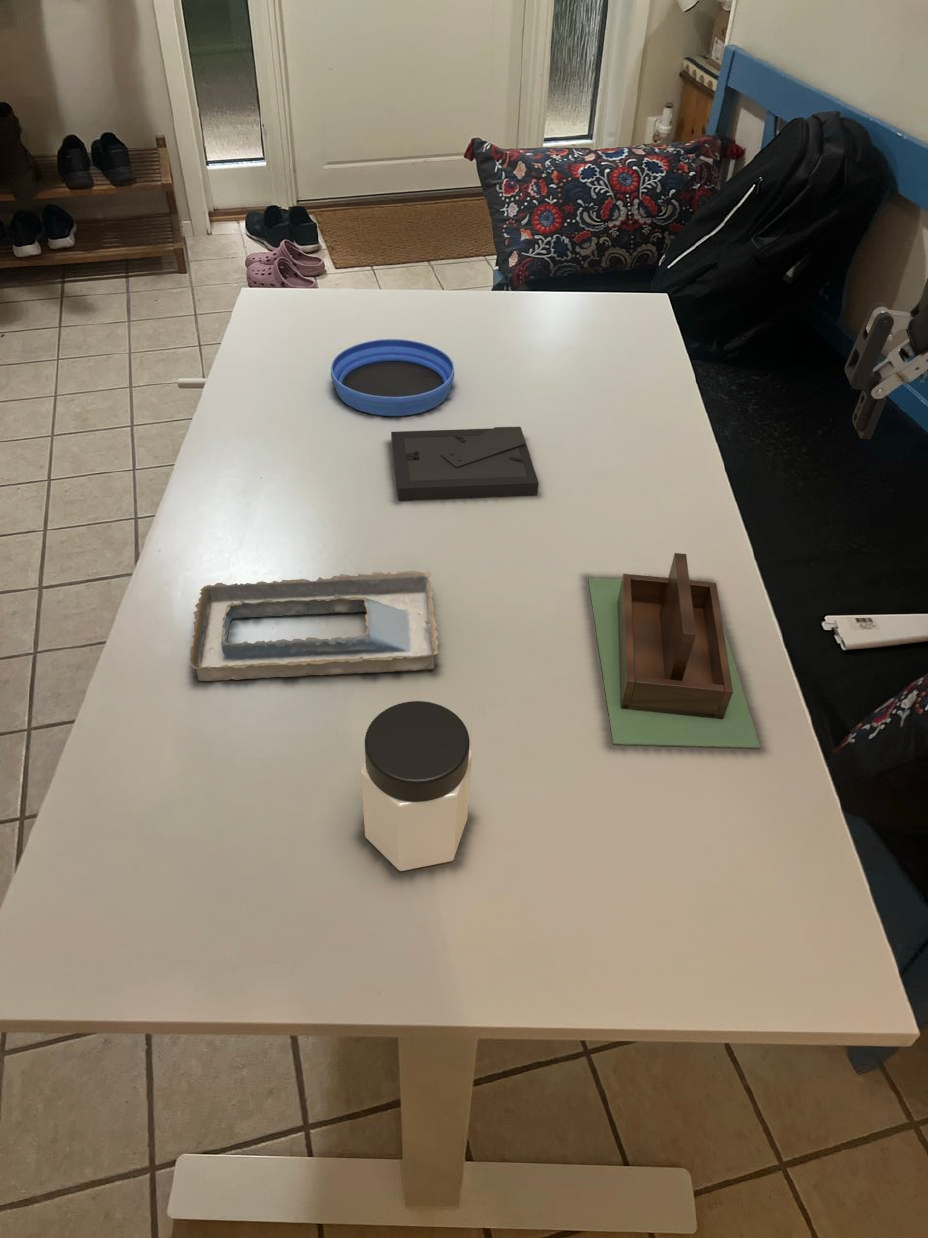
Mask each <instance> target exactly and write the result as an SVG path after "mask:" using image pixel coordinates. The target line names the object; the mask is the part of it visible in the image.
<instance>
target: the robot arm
mask: <svg viewBox="0 0 928 1238" xmlns="http://www.w3.org/2000/svg"><path fill="white" fill-rule="evenodd" d="M904 330H905V332H906V335H907V337H908V338H907V339H904V341H902V342H901V343H900V344H898V345H897V346H895V348H893V349H892V350H891V351H890V352H889V353H888V355H887V357H886V358H885V359H884V360H882V361H881V362H880V363H879V364H877V362H878V360H879V358H880V355H881V353H882V351H883V350H884V347H885V345H886V342H892V341H893V340H894V338H895V337H896V336H897V334H898V333H899V332H901V331H904ZM913 356H914V358H912V357H913ZM910 358H912V359H911V360H910ZM845 363H846V364H845V366H844V368H843V369H844V373H845V376H846V377H847V380H848V383H849V384H850V387H851V388H852V389H853V390H857V391H859V390H860V391H861V392H860V395H859V397H858V401H857V403H856V406H855V409H854V411H853V414H852V417H851V418H852V424H853V427H854V429H855V432H857V435H858V437H859V438H860V439H861V440H862V439H863V440H871V439H872V436H873V435H874V432H875V430H876V428H877V425H878V423H879V420H880V418H881V415H882V412H883V410H884V408H885V405H886V403H887V399H886V396H888V395H889V394H891V393H892V392H893V391H895V390H896V389H898V388H899V387H900V386H901V385H903V384H909V383H911V382H913V381H914V380H916V379H917V378H918V377H920V376H921V375H923V374H924V373H925V372H928V278H927V279H926V281H925V284H924V287H923V290H922V293H921V297H920V299H919V301H918V303H917V304H916V305H915V306H914V307H913V308H912V309H911V310H909V312H908V311H902V310H894V309H889V308H888V307H887V305H886V304H885V303H883V302H875V303H873V304H872V305H871V306H870V308H869V310H868V312H867V314H866V316H865V319H864V321H863V324H862V326H861V328H860V331H859V333H858V335H857V338H856V339H855V343H854V345H853V347H852V349H851V352H850V354H849V356H848V359H847V361H846V362H845Z"/></svg>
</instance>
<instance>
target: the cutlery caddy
mask: <svg viewBox="0 0 928 1238" xmlns="http://www.w3.org/2000/svg"><path fill="white" fill-rule="evenodd" d="M670 566H671V567H670V568H669V574H668V577H664V576H663V577H662V576H653V575H643V574H642V575H641V574H633V573H632V574H630V573H622V577H621V579H622V582H621V587H620V591H619V596H618V634H619V669H620V704H621V709H630V710H639V711H649V712H658V713H668V714H677V715H687V716H696V717H706V718H716V719H723V718H724V716H725V713H726V710H727V708H728V705H729V702H730V699H731V697H732V694H733V688H732V681H731V675H730V668H729V662H728V655H727V649H726V643H725V636H724V630H725V629H724V630H723V627H724V623H723V616H722V611H721V605H720V604H721V603H720V598H719V597H720V596H719V592H718V591H719V590H718V585H717V582H713V581H705V580H704V581H703V580H694V579H690V574H689V573H690V572H689V564H688V557H687V553H681V552H680V553H679V552H674V554H673V558H672V562H671V565H670Z"/></svg>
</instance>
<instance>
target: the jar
mask: <svg viewBox="0 0 928 1238" xmlns="http://www.w3.org/2000/svg"><path fill="white" fill-rule="evenodd" d="M470 740H471V739H470V734H469V732H468V729H467V726H466V725H465V723H464V721H463V720H462V719H461V718H460V717H459V716H458V715H457V714H456V713H455V712H454V711H452V710H451V709H449V708H448V707H445V706H443V705H441V704H438V703H435V702H431V701H422V700H411V701H410V700H409V701H405V702H401V703H397V704H394V705H391V706H390V707H388V708H386V709H384V710H382V711H381V712H380V713H379V714H377V716H375V717H374V719H372V721H371V722H370V723H369V725H368V727H367V729H366V732H365V737H364V763H363V765H362V767H361V770H360V781H361V793H362V794H361V795H362V796H361V797H362V809H363V811H362V812H363V824H364V837H365V839H367V841H369V843H371V845H372V846H374V848H376V849H377V850H378V851H379V852H380V853H381V854H382V856H384V858H385V859H387V860H388V861H389V862H390V863H391V864H392V865H393V867H394V868H396V869H397V870H398V871H399V872H405V871H410V870H414V869H420V868H424V867H430V866H434V865H440V864H444V863H449V862H453V861H454V860H455V857H456V853H457V850H458V847H459V844H460V841H461V838H462V835H463V833H464V829H465V826H466V823H467V821H468V817H469V816H468V815H469V804H470V803H469V801H470V789H471V776H472V775H471V773H472V762H473V761H472V760H473V751H472V750H471V749H470V746H471V745H470Z"/></svg>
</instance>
